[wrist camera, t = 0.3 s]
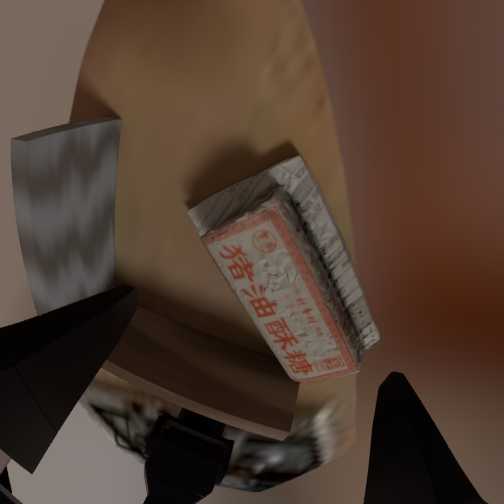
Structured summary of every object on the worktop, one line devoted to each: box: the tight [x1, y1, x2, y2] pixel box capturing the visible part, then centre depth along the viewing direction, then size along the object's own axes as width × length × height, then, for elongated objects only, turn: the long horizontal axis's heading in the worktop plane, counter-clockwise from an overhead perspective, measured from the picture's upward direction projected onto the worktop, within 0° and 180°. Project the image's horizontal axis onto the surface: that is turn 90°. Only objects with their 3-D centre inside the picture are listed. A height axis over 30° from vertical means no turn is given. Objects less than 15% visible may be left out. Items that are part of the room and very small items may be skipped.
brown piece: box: [11, 116, 300, 441], centre depth 21 cm, size 21×24×10 cm
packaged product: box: [187, 155, 381, 384], centre depth 23 cm, size 18×5×10 cm
